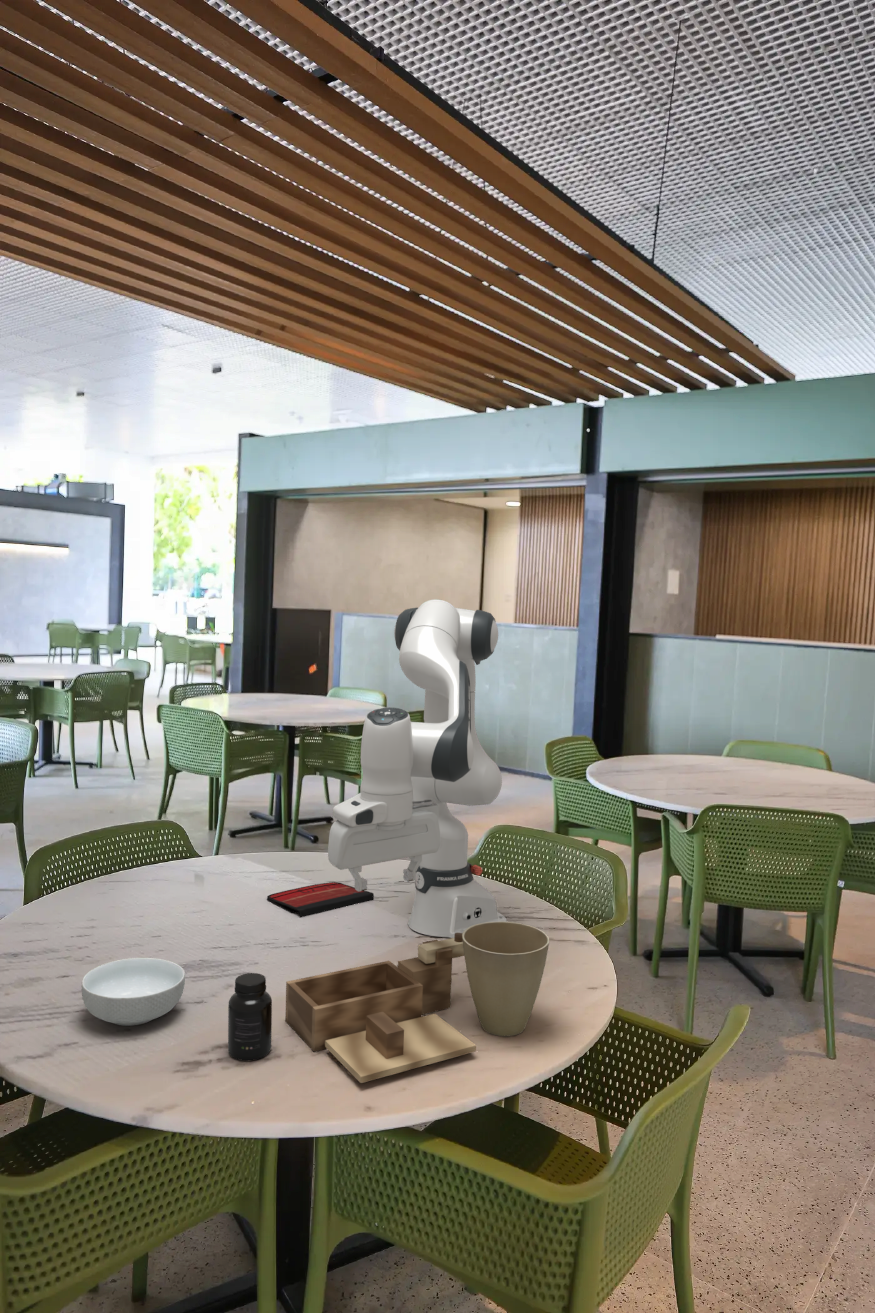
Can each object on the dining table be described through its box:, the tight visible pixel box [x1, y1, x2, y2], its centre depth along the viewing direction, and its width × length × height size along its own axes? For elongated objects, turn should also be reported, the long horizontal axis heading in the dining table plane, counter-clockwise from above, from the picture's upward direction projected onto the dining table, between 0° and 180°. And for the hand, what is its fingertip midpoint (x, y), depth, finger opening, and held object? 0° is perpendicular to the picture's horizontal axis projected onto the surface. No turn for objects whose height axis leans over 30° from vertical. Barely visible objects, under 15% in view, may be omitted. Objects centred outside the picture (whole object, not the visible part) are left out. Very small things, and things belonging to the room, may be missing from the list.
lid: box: [325, 1012, 477, 1084], centre depth 148 cm, size 21×13×6 cm, turn 122°
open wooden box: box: [284, 939, 453, 1053], centre depth 161 cm, size 28×12×11 cm, turn 122°
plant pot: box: [462, 921, 550, 1037], centre depth 159 cm, size 15×15×16 cm
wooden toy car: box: [417, 933, 464, 964], centre depth 168 cm, size 9×3×4 cm, turn 122°
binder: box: [266, 881, 375, 919], centre depth 222 cm, size 16×2×21 cm
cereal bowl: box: [81, 957, 186, 1027], centre depth 159 cm, size 17×17×7 cm
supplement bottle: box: [227, 972, 273, 1062], centre depth 148 cm, size 7×7×12 cm
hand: (385, 885), depth 158 cm, fingers open, 8 cm apart
